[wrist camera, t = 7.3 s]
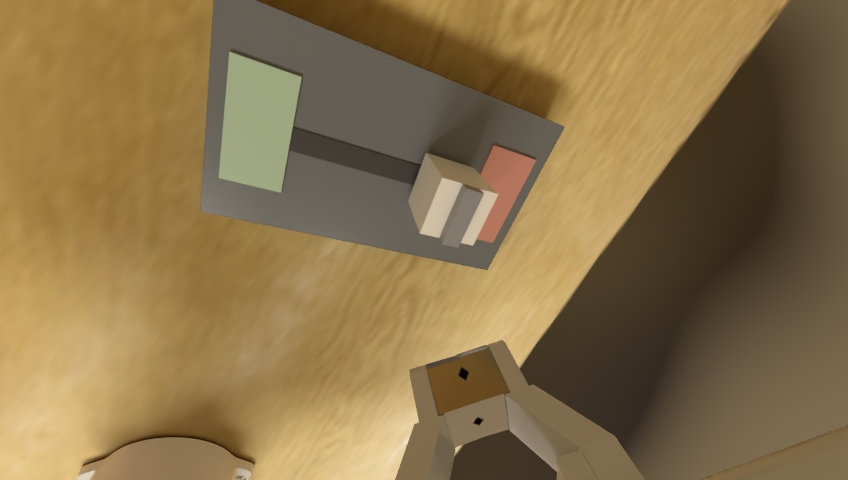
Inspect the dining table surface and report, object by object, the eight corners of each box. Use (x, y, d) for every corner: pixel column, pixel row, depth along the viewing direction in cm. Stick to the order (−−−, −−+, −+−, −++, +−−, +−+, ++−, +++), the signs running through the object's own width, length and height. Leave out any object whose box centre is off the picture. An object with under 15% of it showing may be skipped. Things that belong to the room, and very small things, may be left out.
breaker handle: (453, 213, 27) (476, 252, 23) (408, 201, 26) (421, 240, 21) (473, 167, 26) (503, 199, 21) (426, 152, 24) (445, 182, 19)
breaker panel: (477, 252, 35) (488, 271, 32) (214, 194, 26) (199, 212, 24) (545, 118, 28) (566, 127, 26) (231, -11, 20) (213, -17, 18)
